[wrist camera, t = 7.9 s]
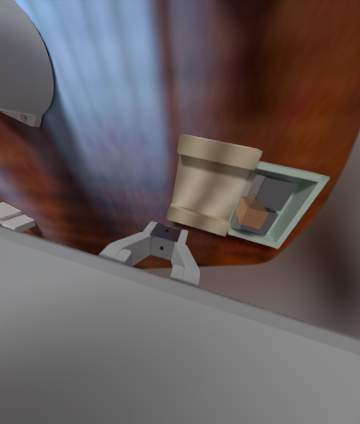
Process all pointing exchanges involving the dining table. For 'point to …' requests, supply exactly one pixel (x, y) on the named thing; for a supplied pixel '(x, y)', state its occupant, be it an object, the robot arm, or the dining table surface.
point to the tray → (294, 207)
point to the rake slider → (250, 205)
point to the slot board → (209, 182)
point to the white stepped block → (14, 218)
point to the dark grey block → (275, 192)
